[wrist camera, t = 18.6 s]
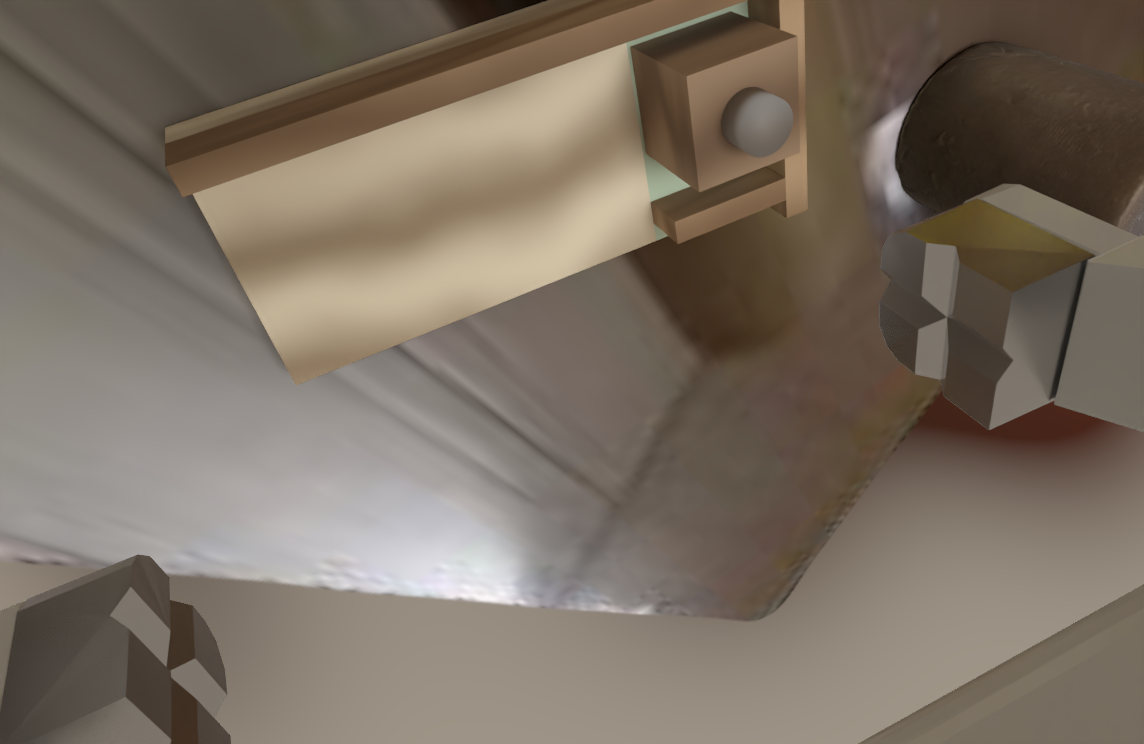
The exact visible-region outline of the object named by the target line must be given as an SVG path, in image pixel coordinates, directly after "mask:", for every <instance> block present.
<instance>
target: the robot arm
mask: <svg viewBox="0 0 1144 744" xmlns="http://www.w3.org/2000/svg"><path fill="white" fill-rule="evenodd" d="M881 269H882V271H883V272H884V273H885V274H886V275H887V276H888V277H889V278H890V279H891V282H890V284H889V285H888V287H887V289H886V291H885V293H884V294H883V296H882V298H881V300H880V301H879V326H880V329H881V331H882V334H883V336H884V339H885V341H886V344H887V346H888V348H889V349H890V351H891V352H892V353H893V354H894V356H895V357H896V358H897V360H898V361H899V362H900V363H902V364H903V365H904V366H905V367H907V368H908V369H909V370H910V371H912V372H913V373H914V374H917V375H921V376H926V377H931V378H935V379H940V380H941V385H942V390H943V395H944V397H946V398H947V399H948V400H950V401H951V402H952V403H954V404H955V405H956V406H958V407H959V408H960V409H962V410H963V411H964V412H966V413H967V414H968V415H970V416H971V417H972V418H974V419H975V420H976V421H978V422H979V423H980V424H982V425H983V426H984V427H985V428H987V429H988V430H990V429H993V428H995V427H997V426H999V425H1001V424H1003V423H1006V422H1008V421H1010V420H1012V419H1015V418H1017V417H1019V416H1021V415H1023V414H1025V413H1027V412H1030V411H1032V410H1034V409H1036V408H1039V407H1041V406H1043V405H1045V404H1047V403H1050V402H1052V401H1054V400H1055V402H1054V404H1055V405H1058V406H1061V407H1064V408H1068V409H1071V410H1074V411H1077V412H1080V413H1084V414H1087V415H1090V416H1093V417H1097V418H1100V419H1103V420H1106V421H1109V422H1113V423H1116V424H1119V425H1122V426H1126V427H1129V428H1132V429H1135V430H1139V431H1142V432H1144V235H1143V236H1141V237H1138V236H1136V235H1134V234H1131V233H1129V232H1127V231H1125V230H1122V229H1120V228H1118V227H1116V226H1113V225H1111V224H1109V223H1107V222H1104V221H1102V220H1100V219H1097V218H1095V217H1093V216H1091V215H1088V214H1086V213H1084V212H1082V211H1079V210H1077V209H1075V208H1073V207H1070V206H1068V205H1066V204H1064V203H1061V202H1059V201H1057V200H1054V199H1052V198H1050V197H1048V196H1045V195H1043V194H1041V193H1039V192H1036V191H1034V190H1032V189H1030V188H1027V187H1025V186H1023V185H1021V184H1002V185H999V186H997V187H995V188H993V189H991V190H988V191H986V192H984V193H982V194H980V195H977V196H975V197H973V198H971V199H969V200H966V201H965V202H964V203H963V204H960V205H958V206H955V207H953V208H951V209H949V210H946V211H944V212H942V213H939V214H937V215H935V216H932V217H930V218H928V219H925V220H923V221H921V222H919V223H916V224H914V225H912V226H909V227H907V228H905V229H902V230H900V231H898V232H895V233H893V234H891V235H889V236H888V238H887V240H886V242H885V245H884V247H883V249H882V260H881ZM226 696H227V688H226V678H225V669H224V665H223V662H222V659H221V656H220V652H219V649H218V646H217V643H216V640H215V638H214V636H213V635H212V633H211V631H210V629H209V627H208V626H207V624H206V622H205V621H204V619H203V618H202V617H201V616H200V614H199V613H198V612H197V611H196V609H195V608H194V607H193V606H191V605H188V604H184V603H180V602H175V601H172V600H170V588H169V577H168V576H167V575H166V573H165V572H164V571H163V570H162V569H161V568H160V567H159V566H158V565H157V564H156V562H155V561H154V560H153V559H152V558H151V557H150V556H144V555H136V556H133V557H131V558H128V559H126V560H123V561H121V562H118V563H116V564H113V565H111V566H108V567H106V568H103V569H101V570H98V571H96V572H93V573H91V574H89V575H86V576H83V577H81V578H78V579H76V580H73V581H71V582H68V583H66V584H64V585H61V586H59V587H56V588H54V589H51V590H49V591H46V592H44V593H41V594H39V595H36V596H34V597H31V598H29V599H28V600H27V601H25V602H22V603H18V604H16V605H13V606H11V607H9V608H6V609H4V610H2V611H0V744H231V739H230V735H229V734H228V733H227V732H226V731H225V729H224V728H223V727H222V726H221V725H220V724H219V723H218V722H217V721H216V720H215V717H216V715H217V713H218V711H219V709H220V707H221V706H222V704H223V702H224V700H225V698H226ZM858 744H1144V585H1142V586H1140V587H1138V588H1136V589H1134V590H1133V591H1131V592H1129V593H1127V594H1125V595H1124V596H1122V597H1120V598H1118V599H1117V600H1115V601H1113V602H1111V603H1109V604H1108V605H1106V606H1104V607H1102V608H1100V609H1099V610H1097V611H1095V612H1093V613H1091V614H1090V615H1088V616H1086V617H1084V618H1082V619H1081V620H1079V621H1077V622H1075V623H1073V624H1072V625H1070V626H1068V627H1067V628H1065V629H1063V630H1061V631H1059V632H1057V633H1056V634H1054V635H1052V636H1051V637H1049V638H1047V639H1045V640H1043V641H1041V642H1040V643H1038V644H1036V645H1034V646H1032V647H1030V648H1029V649H1027V650H1025V651H1023V652H1022V653H1020V654H1018V655H1016V656H1014V657H1013V658H1011V659H1009V660H1007V661H1005V662H1004V663H1002V664H1000V665H998V666H996V667H995V668H993V669H991V670H989V671H987V672H986V673H984V674H982V675H980V676H978V677H977V678H975V679H973V680H971V681H970V682H968V683H966V684H964V685H963V686H961V687H959V688H957V689H955V690H954V691H952V692H950V693H948V694H947V695H944V696H943V697H941V698H939V699H937V700H936V701H934V702H932V703H930V704H928V705H927V706H925V707H923V708H921V709H920V710H918V711H916V712H914V713H912V714H910V715H909V716H907V717H905V718H903V719H901V720H900V721H898V722H896V723H894V724H893V725H891V726H889V727H887V728H885V729H884V730H882V731H880V732H878V733H876V734H875V735H873V736H871V737H869V738H867V739H866V740H864V741H862V742H860V743H858Z"/></svg>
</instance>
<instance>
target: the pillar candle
mask: <svg viewBox="0 0 1144 744" xmlns="http://www.w3.org/2000/svg"><path fill="white" fill-rule="evenodd" d="M896 166H897V171H898V173H899V177H900V179H901V181H902V186H903V188H904V190H905V191H906V192H907V193H908V194H909V196H910V197H912V198H913V199H914V200H915V201H917V202H919V203H921V204H923V205H925V206H926V207H929V208H930V209H933V210H934V211H936V212H938V213H942V212H944V211H946V210H949V209H951V208H953V207H955V206H958V205H960V204H963V203H964V202H965V201H966V200H969V199H971V198H973V197H975V196H977V195H980V194H982V193H984V192H986V191H988V190H991V189H993V188H995V187H997V186H999V185H1002V184H1021V185H1023V186H1025V187H1027V188H1030V189H1032V190H1034V191H1036V192H1039V193H1041V194H1043V195H1045V196H1048V197H1050V198H1052V199H1054V200H1057V201H1059V202H1061V203H1064V204H1066V205H1068V206H1070V207H1073V208H1075V209H1077V210H1079V211H1082V212H1084V213H1086V214H1088V215H1091V216H1093V217H1095V218H1097V219H1100V220H1102V221H1104V222H1107V223H1109V224H1111V225H1113V226H1116V227H1118V228H1120V229H1122V230H1125V231H1127V232H1129V233H1131V234H1134V235H1136V236H1138V237H1141V236H1143V235H1144V83H1142V82H1138V81H1134V80H1130V79H1127V78H1124V77H1120V76H1118V75H1115V74H1111V73H1108V72H1106V71H1102V70H1098V69H1095V68H1092V67H1090V66H1086V65H1084V64H1081V63H1076V62H1072V61H1068V60H1064V59H1061V58H1059V57H1056V56H1055V55H1050V54H1048V53H1044V52H1040V51H1037V50H1033V49H1030V48H1024V47H1020V46H1016V45H1011V44H1008V43H1003V42H987V43H982V44H979V45H976V46H974V47H972V48H969V49H967V50H966V51H964V52H963V53H961V54H960V55H958V56H957V57H955V58H954V59H952V60H951V61H950V62H948V63H947V64H946V65H945V66H943V67H942V68H941V69H940V70H938V72H937V73H935V74H934V75H933V77H932V78H931V79H930V80H929V81H928V82H927V84H926V85H925V87H924V88H923V89H922V90H921V92H920V93H919V95H918V96H917V98H916V100H915V102H914V104H913V105H912V106H911V109H910V112H909V113H908V116H907V118H906V121H905V123H904V126H903V129H902V132H901V135H900V143H899V148H898V153H897V164H896Z"/></svg>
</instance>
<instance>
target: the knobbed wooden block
mask: <svg viewBox="0 0 1144 744" xmlns="http://www.w3.org/2000/svg"><path fill="white" fill-rule="evenodd" d="M630 49H631V56H632V63H633V69H634V76H635V83H636V89H637V96H638V103H639V109H640V116H641V123H642V129H643V136H644V143H645V150H646V154H647V155H649V156H650V157H651V158H653V159H654V160H656V161H657V162H658V163H660V164H661V165H662V166H664V167H665V168H666V169H668V170H669V171H671V172H672V173H673V174H675V175H676V176H677V177H679V178H680V179H682V180H683V181H684V182H686V183H687V184H688V185H690V186H691V187H692V188H694V189H695V190H697V191H698V192H701V191H704V190H707V189H709V188H712V187H714V186H717V185H719V184H722V183H724V182H727V181H729V180H732V179H734V178H737V177H740V176H742V175H745V174H747V173H750V172H752V171H755V170H757V169H760V168H762V167H765V166H768V165H770V164H773V163H775V162H778V161H780V160H783V159H785V158H788V157H790V156H793V155H795V154H798V153H800V126H799V82H798V38H797V36H796V35H793V34H790V33H788V32H785V31H782V30H780V29H777V28H774V27H772V26H769V25H766V24H764V23H761V22H758V21H756V20H753V19H750V18H748V17H745V16H742V15H740V14H737V13H734V12H732V11H730V12H727V13H724V14H722V15H719V16H716V17H713V18H710V19H707V20H704V21H702V22H699V23H696V24H693V25H690V26H687V27H685V28H682V29H679V30H676V31H673V32H670V33H667V34H665V35H662V36H659V37H656V38H653V39H650V40H647V41H645V42H642V43H639V44H636V45H633V46H630Z"/></svg>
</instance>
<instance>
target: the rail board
mask: <svg viewBox="0 0 1144 744" xmlns="http://www.w3.org/2000/svg"><path fill="white" fill-rule="evenodd" d="M730 11H732V12H734V13H737V14H740V15H742V16H745V17H748V18H750V19H753V20H756V21H758V22H761V23H764V24H766V25H769V26H772V27H774V28H777V29H780V30H782V31H785V32H788V33H790V34H793V35H796V36H797V38H798V82H799V126H800V153H798V154H795V155H793V156H790V157H788V158H785V159H783V160H780V161H778V162H775V163H773V164H770V165H768V166H765V167H762V168H760V169H757V170H755V171H752V172H750V173H747V174H745V175H742V176H740V177H737V178H734V179H732V180H729V181H727V182H724V183H722V184H719V185H717V186H714V187H712V188H709V189H707V190H704V191H701V192H698V191H697V190H695V189H694V188H692V187H691V186H690V185H688V184H687V183H686V182H684V181H683V180H682V179H680V178H679V177H677V176H676V175H675V174H673V173H672V172H671V171H669V170H668V169H666V168H665V167H664V166H662V165H661V164H660V163H658V162H657V161H656V160H654V159H653V158H651V157H650V156H649V155H647V154H646V150H645V143H644V136H643V129H642V123H641V116H640V109H639V103H638V96H637V89H636V83H635V76H634V69H633V63H632V56H631V49H630V46H633V45H636V44H639V43H642V42H645V41H647V40H650V39H653V38H656V37H659V36H662V35H665V34H667V33H670V32H673V31H676V30H679V29H682V28H685V27H687V26H690V25H693V24H696V23H699V22H702V21H704V20H707V19H710V18H713V17H716V16H719V15H722V14H724V13H727V12H730ZM165 162H166V168H167V170H168V172H169V174H170V176H171V178H172V179H173V181H174V183H175V185H176V187H177V188H178V190H179V192H180V194H181V196H182V197H185V196H188V195H191V194H193V196H194V198H195V200H196V202H197V203H198V205H199V207H200V209H201V211H202V213H203V215H204V216H205V218H206V220H207V222H208V224H209V226H210V227H211V229H212V231H213V233H214V235H215V237H216V239H217V240H218V242H219V244H220V246H221V248H222V250H223V251H224V253H225V255H226V257H227V259H228V261H229V263H230V264H231V266H232V268H233V270H234V272H235V274H236V275H237V277H238V279H239V281H240V283H241V285H242V287H243V288H244V290H245V292H246V294H247V296H248V298H249V300H250V301H251V303H252V305H253V307H254V309H255V311H256V312H257V314H258V316H259V318H260V320H261V322H262V324H263V325H264V327H265V329H266V331H267V333H268V335H269V336H270V338H271V340H272V342H273V344H274V346H275V348H276V349H277V351H278V353H279V355H280V357H281V359H282V360H283V362H284V364H285V366H286V368H287V370H288V372H289V373H290V375H291V377H292V379H293V381H294V383H295V384H296V385H298V384H300V383H303V382H305V381H308V380H310V379H313V378H315V377H318V376H320V375H323V374H325V373H328V372H330V371H333V370H335V369H338V368H340V367H343V366H345V365H348V364H350V363H353V362H355V361H358V360H360V359H363V358H365V357H368V356H370V355H373V354H375V353H378V352H380V351H383V350H385V349H388V348H390V347H393V346H395V345H398V344H400V343H403V342H405V341H407V340H410V339H412V338H415V337H417V336H420V335H422V334H425V333H427V332H430V331H432V330H435V329H437V328H440V327H442V326H445V325H447V324H450V323H452V322H455V321H457V320H460V319H462V318H465V317H467V316H470V315H472V314H475V313H477V312H480V311H482V310H485V309H487V308H490V307H492V306H495V305H497V304H500V303H502V302H505V301H507V300H510V299H512V298H515V297H517V296H520V295H522V294H525V293H527V292H530V291H532V290H535V289H537V288H540V287H542V286H545V285H547V284H549V283H552V282H554V281H557V280H559V279H562V278H564V277H567V276H569V275H572V274H574V273H577V272H579V271H582V270H584V269H587V268H589V267H592V266H594V265H597V264H599V263H602V262H604V261H607V260H609V259H612V258H614V257H617V256H619V255H622V254H624V253H627V252H629V251H632V250H634V249H637V248H639V247H642V246H644V245H647V244H649V243H652V242H654V241H657V240H659V239H662V238H664V237H667V236H669V237H670V238H671V239H672V240H674V241H675V242H676V243H677V244H679V243H682V242H684V241H687V240H689V239H692V238H694V237H697V236H699V235H701V234H704V233H706V232H709V231H711V230H714V229H716V228H719V227H721V226H724V225H726V224H729V223H731V222H734V221H736V220H739V219H741V218H744V217H746V216H748V215H751V214H753V213H756V212H758V211H761V210H763V209H766V208H768V207H771V208H773V209H774V210H776V211H777V212H778V213H780V214H781V215H783V216H784V217H786V218H788V217H791V216H793V215H796V214H798V213H801V212H803V211H806V210H808V206H807V148H806V90H805V32H804V0H548V1H545V2H542V3H539V4H536V5H533V6H530V7H527V8H524V9H521V10H518V11H515V12H512V13H509V14H506V15H503V16H500V17H497V18H494V19H491V20H488V21H485V22H481V23H478V24H475V25H472V26H469V27H466V28H463V29H460V30H457V31H454V32H451V33H448V34H445V35H442V36H439V37H436V38H433V39H430V40H427V41H424V42H421V43H418V44H415V45H412V46H409V47H406V48H403V49H400V50H397V51H394V52H391V53H388V54H385V55H382V56H379V57H376V58H373V59H370V60H367V61H364V62H361V63H358V64H355V65H352V66H349V67H346V68H343V69H340V70H337V71H334V72H331V73H328V74H325V75H322V76H319V77H316V78H313V79H310V80H307V81H303V82H300V83H297V84H294V85H291V86H288V87H285V88H282V89H279V90H276V91H273V92H270V93H267V94H264V95H261V96H258V97H255V98H252V99H249V100H246V101H243V102H240V103H237V104H234V105H231V106H228V107H225V108H222V109H219V110H216V111H213V112H210V113H207V114H204V115H201V116H198V117H195V118H192V119H189V120H186V121H183V122H180V123H177V124H174V125H171V126H168V127H165Z"/></svg>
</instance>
